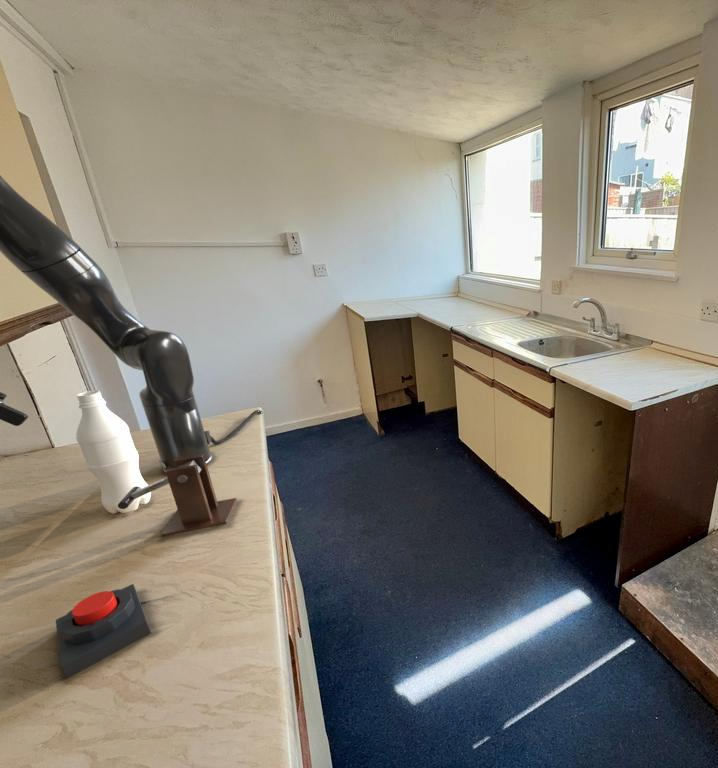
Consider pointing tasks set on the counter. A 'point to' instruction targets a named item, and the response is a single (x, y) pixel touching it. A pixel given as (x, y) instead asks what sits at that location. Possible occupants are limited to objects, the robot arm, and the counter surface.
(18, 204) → the robot arm
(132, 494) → the lever
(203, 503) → the bracket
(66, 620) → the control block
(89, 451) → the water bottle
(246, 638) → the counter surface
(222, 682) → the counter surface
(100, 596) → the button
